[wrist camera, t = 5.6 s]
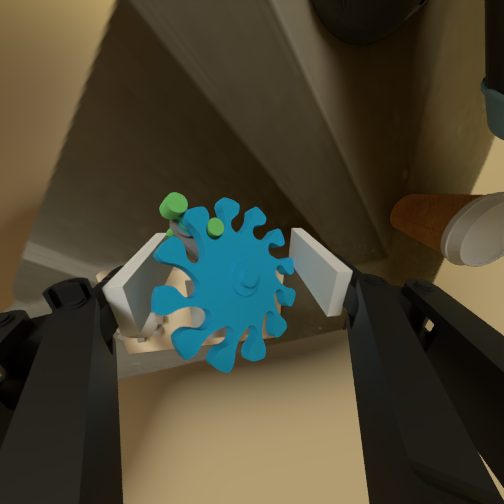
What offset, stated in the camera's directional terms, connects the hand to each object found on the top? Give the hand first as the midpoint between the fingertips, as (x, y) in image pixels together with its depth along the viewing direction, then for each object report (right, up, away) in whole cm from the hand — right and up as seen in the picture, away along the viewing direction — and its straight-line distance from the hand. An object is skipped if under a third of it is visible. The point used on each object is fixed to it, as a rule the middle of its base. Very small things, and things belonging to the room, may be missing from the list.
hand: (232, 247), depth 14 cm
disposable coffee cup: (+29, +7, +19) cm, 35 cm away
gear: (0, 0, +1) cm, 1 cm away
